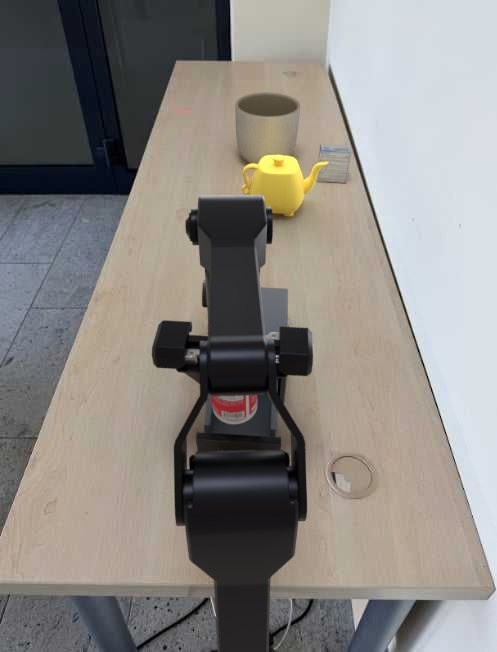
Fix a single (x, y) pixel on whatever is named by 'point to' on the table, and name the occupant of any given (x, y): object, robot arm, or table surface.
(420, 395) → the table surface
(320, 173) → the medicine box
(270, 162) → the teapot
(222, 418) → the pill bottle
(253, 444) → the drawer
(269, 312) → the cabinet
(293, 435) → the robot arm
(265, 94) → the planter
